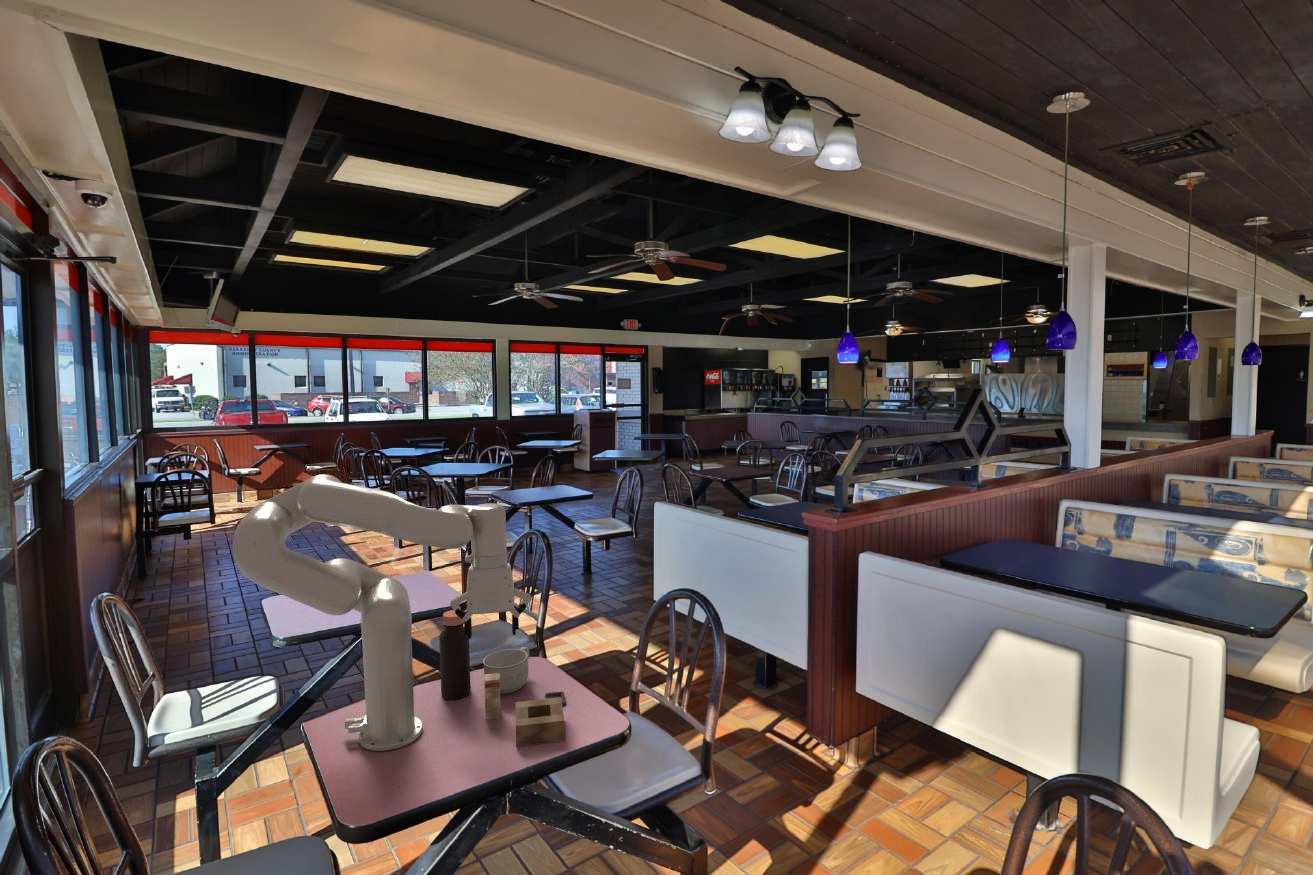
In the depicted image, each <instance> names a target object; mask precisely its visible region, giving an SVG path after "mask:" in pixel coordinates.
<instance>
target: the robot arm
mask: <svg viewBox="0 0 1313 875" xmlns="http://www.w3.org/2000/svg"><path fill="white" fill-rule="evenodd" d="M506 518H507V516H506V508H505V507H504V505H502V504H500V503H494V502H489V503H480V504H477V505H468V504H467V505H466V504H465V505H464V504H448V505H444V506H441V507H440V508H438V509H432V508H428V507H424V506H421V505H418V504H415V503H412V502H409V501H407V500H405V499H403V498H402V497H401V496H399V495H396V493H395V494H394V493H392V492H389V491H388V490H387V491H386V490H381V489H377V488H369V487H365V486H361V485H360V486H359V485H353V484H350V483H345V482H342V481H341V480H340V479H339V478H337V477H336V476H334V475H330V474H323V473H322V474H318V475H317V474H316V475H314V476H311V477H309V478H307V479H305V480H303V481H302V482H300V483H297V485H294V486H292V487H290V488H288V489H286V490H285V491H283V492H280V493H278V494H276V495H275V496H273V497H270V498H267V500H264V501H262V502H260V503H259V504H257V505H256V506H254V507H252V509H251V510H249V512H248V513H247V514H246V515H245V516H244V517H243V518H242V520H240V522H239V523H238V524H237V527H236V529H235V530H234V534H233V538H232V539H233V540H232V554H233V555H232V556H233V559H234V562H235V565H236V566H237V568H238V570H239V571H240V572H241V574H242V575H243V576H244V577H246V578H247V579H248V580H250V581H251V582H252V583H254V584H256V585H258V586H260V587H262V588H264V589H268V590H270V591H272V592H275V593H278V594H280V595H282V596H284V597H287V598H289V599H291V600H293V601H296V602H298V603H301V604H303V605H305V606H308V607H310V608H312V609H314V610H317V611H319V612H322V613H324V614H326V615H331V616H343V615H347V614H348V613H350V612H351V611H356V612H359V613H360V630H361V632H360V633H361V644H362V661H363V678H364V696H365V697H364V698H365V700H364V701H365V715H361V717H359V718H346V719H345V720H344V729H345V730H346V729H347V731H348V734H355V733H359V734H358V743H359V744H360V746H361V747H362V748H364V749H365V750H369V751H374V752H383V751H384V752H385V751H392V750H396V749H400V748H402V747H405V746H407V745H409V744H411V743H412V742H414V741H416V740H417V739H418V738H419V737H420V735H421V734H422V733H423V728H424V727H423V726H424V724H423V722H422V720H421V719H420V718H418V717H417V716H415V698H414V697H415V696H414V694H415V693H414V673H413V672H414V671H413V670H414V667H413V666H414V665H413V645H412V644H413V643H412V642H413V641H412V638H413V637H412V630H413V629H412V625H413V624H412V623H413V622H412V621H413V620H412V608H411V604H410V602H411V601H410V600H409V599H410V597H409V594H408V590H407V588H406V587H405V585H403V583H401V581H399V580H397V579H395V578H393V577H391V576H390V575H387V574H385V573H383V572H381V571H378V570H376V569H373V568H372V567H369V566H367V565H366V564H363V563H360V562H358V561H356V560H352V559H350V558H349V559H348V558H344V557H343V558H339V557H338V558H333V559H330V560H328V561H326V562H323V561H320V560H317V559H316V558H314V557H312V556H310V555H308V554H304V553H301V552H299V551H295V550H292V549H290V548H288V547H287V545H286V539H287V538H288V536H289V535H292V534H293V533H294V532H297V531H299V530H300V529H302V528H304V527H306V526H308V525H310V524H311V523H314V522H316V523H321V524H325V525H331V526H338V527H344V528H351V529H355V530H361V531H362V530H363V531H367V532H368V531H369V532H374V533H378V534H382V535H384V536H388V537H391V538H395V539H398V540H402V541H406V542H409V543H413V544H417V545H423V546H428V547H433V548H438V549H448V550H449V549H450V550H454V549H460V548H462V547H464V546H466V545H467V544H468V543H469V542H470V544H471V546H470V547H471V554H470V555H468V556H467V555H466V556H464V562H465V563H469V564H470V566H469V567H468V572H467V577H466V591H465V592H464V593H462V594H461V595H459V596H457V597H455V598H454V599H451V601H450V603H449V605H450V607H451V608H452V610H454V611H455V614H456V615H457V616H459V617H460V618H461V619H462V620H463V622H464V624H463V627H464V632H465V634H468V639H469V640H470V639H472V637H473V636H472V635H473V630H472V629H473V627H472V626H473V625H472V622H473V621H472V616H473V615H484V614H485V615H486V614H497V613H498V614H499V613H506V612H509V613H510V614H511V628H512V629H511V631H512V632H511V633H512V635H513V636H515V635H517V631H518V630H519V629H520V627H519V625H520V624H519V620H520V619H519V618H520V616H521V614H522V613H524V611H525V610H526V609H527V607H528V605H529V603H530V600H531V597H532V596H531V594H529V593H527V592H525V591H522V590H520V589H517V588H515V586H514V576H513V571H512V567H511V563H510V562H508V550H507V520H506ZM516 597H517V598H519V599H521V600H522V602H521V603H520V604H519V605H518V606H517V605H516V604H515V598H516ZM465 601H466V610H464V609H463V608H461V607H460V604H461V603H464V602H465Z"/></svg>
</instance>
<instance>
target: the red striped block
mask: <svg viewBox="0 0 1313 875" xmlns="http://www.w3.org/2000/svg"><path fill="white" fill-rule="evenodd" d="M484 707H485V708H484V710H485V711H484V712H485V720H492V719H493V720H494V719H500V718H501V712H502V711H501V694H500V673H494V674H484Z"/></svg>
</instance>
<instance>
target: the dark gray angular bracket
mask: <svg viewBox="0 0 1313 875" xmlns="http://www.w3.org/2000/svg"><path fill="white" fill-rule="evenodd" d="M550 697H552V698H554V697H560V698H561V701H562V707H564V706H566V698H565V691H553V692H545V698H550Z"/></svg>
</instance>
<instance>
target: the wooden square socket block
mask: <svg viewBox="0 0 1313 875" xmlns="http://www.w3.org/2000/svg"><path fill="white" fill-rule="evenodd" d="M514 705H515V747H523V746H524V747H525V746H531V745H532V746H533V745H542V744H550V743H560V742H565V740H566V738H565V736H566V735H565V727H566V726H565V716H564V715H565V714H564V710H563V706H562V698H561V697H552V698H545V699H543V698H541V699H533V700H525V701H515V704H514Z"/></svg>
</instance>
